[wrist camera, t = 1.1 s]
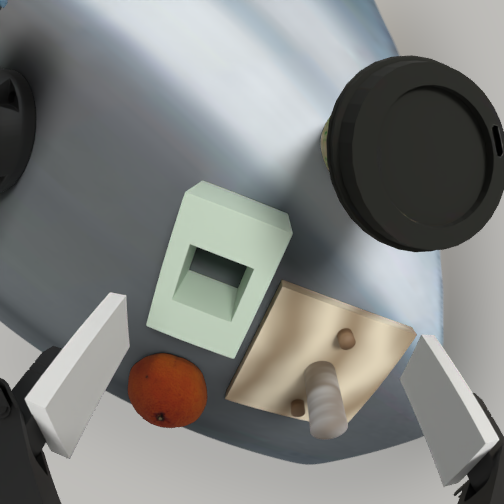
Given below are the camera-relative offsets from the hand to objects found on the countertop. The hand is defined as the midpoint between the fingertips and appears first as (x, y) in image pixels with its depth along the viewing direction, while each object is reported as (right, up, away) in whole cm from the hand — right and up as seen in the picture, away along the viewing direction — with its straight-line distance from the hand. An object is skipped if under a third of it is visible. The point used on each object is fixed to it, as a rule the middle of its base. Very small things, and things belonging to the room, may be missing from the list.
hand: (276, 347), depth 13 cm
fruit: (-10, -10, +22) cm, 26 cm away
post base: (+6, -8, +21) cm, 23 cm away
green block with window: (-4, +4, +17) cm, 17 cm away
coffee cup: (+8, +13, +13) cm, 20 cm away
